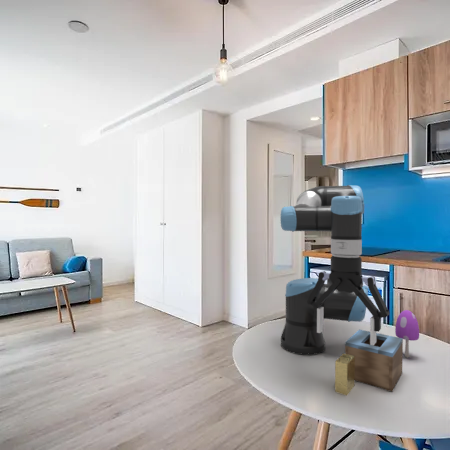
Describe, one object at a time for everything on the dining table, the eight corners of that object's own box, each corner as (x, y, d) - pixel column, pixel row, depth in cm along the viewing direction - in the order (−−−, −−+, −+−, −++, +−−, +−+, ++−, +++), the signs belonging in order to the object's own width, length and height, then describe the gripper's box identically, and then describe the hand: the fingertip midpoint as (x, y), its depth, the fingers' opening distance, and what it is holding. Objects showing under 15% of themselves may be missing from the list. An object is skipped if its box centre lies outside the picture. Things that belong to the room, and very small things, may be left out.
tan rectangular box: (335, 391, 83) (335, 360, 83) (343, 382, 88) (343, 353, 88) (347, 395, 81) (347, 364, 81) (354, 385, 86) (354, 356, 86)
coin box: (345, 377, 90) (345, 342, 90) (359, 361, 100) (359, 329, 100) (392, 391, 83) (392, 353, 83) (402, 372, 93) (402, 338, 93)
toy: (422, 362, 100) (423, 314, 99) (399, 360, 101) (399, 312, 101) (414, 353, 106) (414, 308, 106) (392, 351, 108) (392, 307, 107)
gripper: (295, 253, 88) (294, 330, 89) (396, 260, 73) (395, 354, 73) (307, 251, 94) (306, 323, 95) (402, 257, 79) (402, 344, 79)
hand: (345, 337), depth 84 cm, fingers open, 13 cm apart
